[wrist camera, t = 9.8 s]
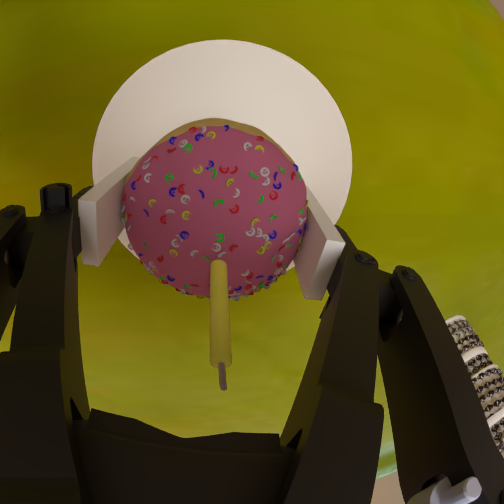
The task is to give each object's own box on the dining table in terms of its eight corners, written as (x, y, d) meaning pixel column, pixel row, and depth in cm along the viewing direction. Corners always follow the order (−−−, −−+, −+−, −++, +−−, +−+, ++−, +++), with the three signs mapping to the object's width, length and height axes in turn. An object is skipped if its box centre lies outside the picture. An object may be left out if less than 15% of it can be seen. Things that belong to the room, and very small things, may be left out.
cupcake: (304, 228, 19) (370, 391, 9) (180, 263, 20) (142, 429, 9) (269, 94, 15) (344, 103, 4) (127, 144, 15) (-14, 246, 5)
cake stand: (145, 46, 20) (109, 31, 13) (340, 82, 23) (381, 82, 16) (125, 222, 29) (94, 267, 22) (292, 249, 32) (308, 300, 25)
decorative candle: (436, 318, 40) (507, 445, 18) (474, 309, 40) (543, 417, 19) (419, 355, 45) (471, 471, 23) (455, 344, 45) (510, 447, 23)
